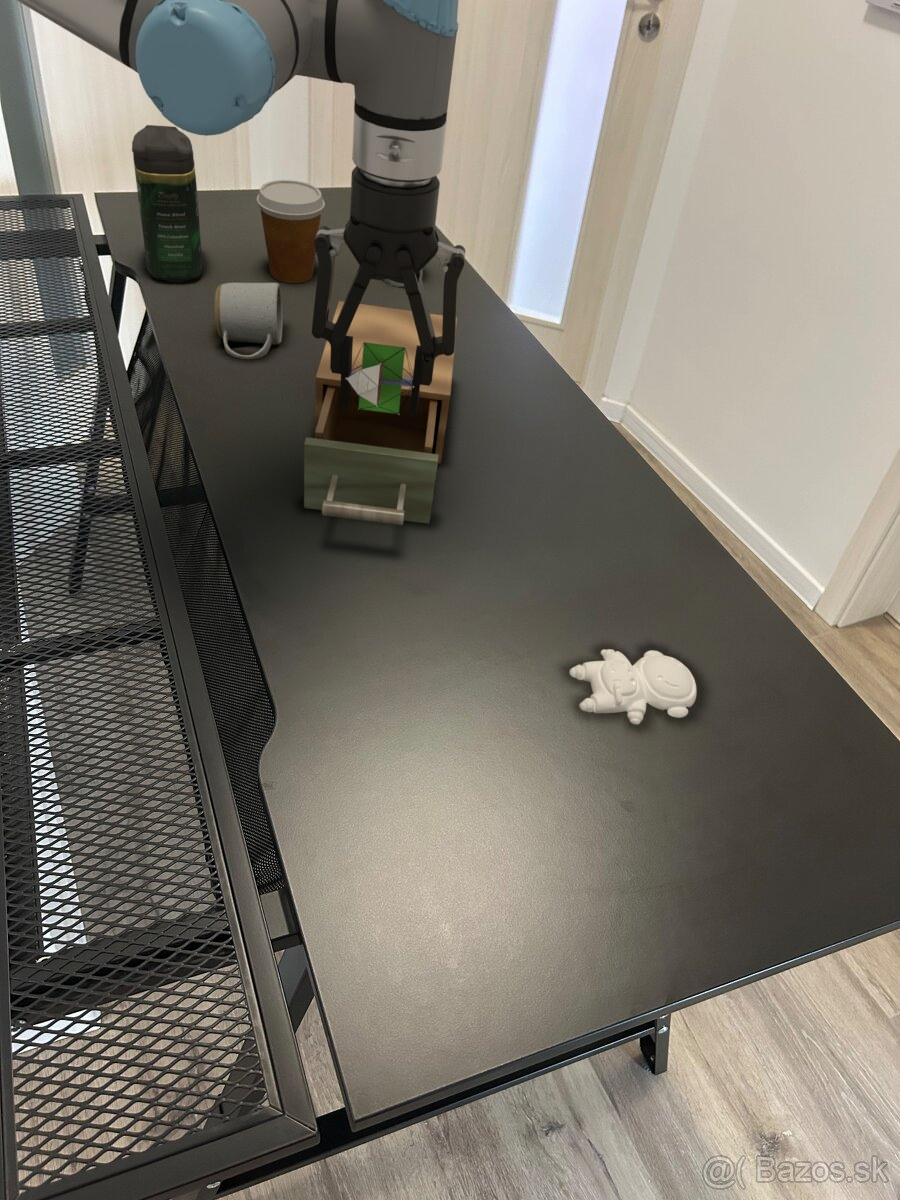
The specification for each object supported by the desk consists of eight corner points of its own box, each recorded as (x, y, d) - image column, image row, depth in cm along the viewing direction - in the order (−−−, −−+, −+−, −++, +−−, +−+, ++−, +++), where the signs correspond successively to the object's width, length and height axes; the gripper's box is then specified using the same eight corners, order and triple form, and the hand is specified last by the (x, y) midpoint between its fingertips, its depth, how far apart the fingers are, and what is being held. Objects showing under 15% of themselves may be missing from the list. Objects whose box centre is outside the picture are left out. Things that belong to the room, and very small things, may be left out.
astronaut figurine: (562, 654, 82) (569, 633, 79) (681, 657, 83) (691, 636, 81) (578, 730, 75) (586, 709, 73) (706, 731, 77) (718, 711, 75)
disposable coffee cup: (247, 266, 128) (243, 184, 120) (301, 255, 133) (300, 174, 125) (281, 294, 124) (280, 210, 115) (336, 280, 129) (338, 199, 120)
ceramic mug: (222, 322, 116) (218, 267, 111) (283, 326, 117) (282, 273, 112) (213, 364, 109) (208, 309, 103) (278, 368, 110) (277, 314, 105)
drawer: (425, 560, 87) (434, 497, 81) (294, 544, 86) (293, 479, 80) (438, 435, 103) (446, 374, 97) (327, 420, 102) (328, 358, 96)
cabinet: (439, 469, 99) (450, 395, 92) (314, 453, 99) (315, 376, 91) (447, 388, 112) (457, 317, 104) (336, 373, 111) (338, 300, 104)
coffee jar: (205, 284, 123) (193, 147, 110) (147, 284, 121) (128, 144, 108) (202, 254, 129) (190, 121, 116) (147, 254, 127) (129, 118, 114)
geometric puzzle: (353, 356, 90) (349, 323, 83) (418, 364, 91) (420, 332, 83) (345, 421, 90) (340, 394, 82) (410, 429, 90) (411, 403, 82)
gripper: (272, 169, 69) (279, 412, 85) (509, 204, 70) (470, 437, 86) (289, 139, 74) (292, 372, 90) (509, 171, 75) (473, 397, 91)
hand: (379, 403), depth 88 cm, fingers closed on geometric puzzle, 6 cm apart
